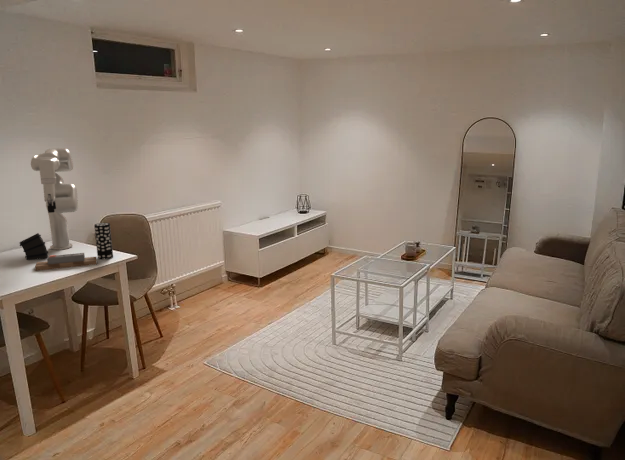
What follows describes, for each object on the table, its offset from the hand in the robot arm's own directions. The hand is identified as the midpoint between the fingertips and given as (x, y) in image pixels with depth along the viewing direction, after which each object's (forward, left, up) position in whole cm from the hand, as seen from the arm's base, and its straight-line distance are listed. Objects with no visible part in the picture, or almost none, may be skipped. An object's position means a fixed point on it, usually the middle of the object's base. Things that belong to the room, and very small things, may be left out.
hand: (52, 210), depth 274 cm
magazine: (-3, -12, -28) cm, 31 cm away
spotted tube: (+9, +26, -28) cm, 39 cm away
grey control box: (+18, +6, -28) cm, 34 cm away
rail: (+18, +6, -28) cm, 34 cm away
